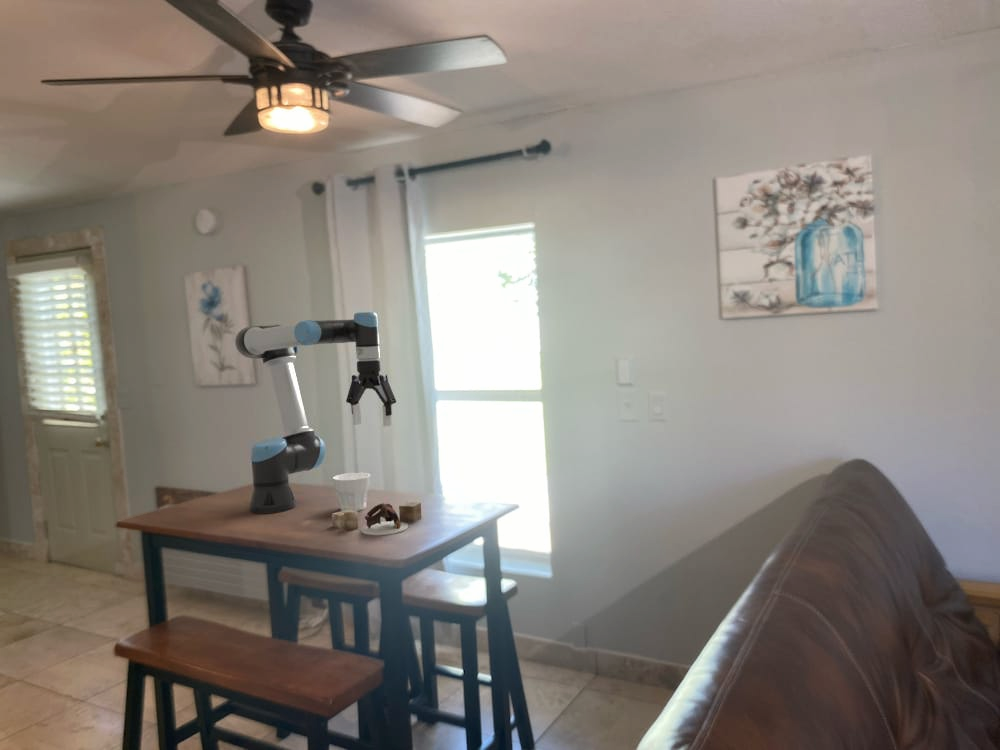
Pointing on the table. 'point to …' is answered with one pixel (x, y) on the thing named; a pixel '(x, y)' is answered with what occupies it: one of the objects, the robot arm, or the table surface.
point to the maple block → (338, 519)
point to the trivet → (384, 528)
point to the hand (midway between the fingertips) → (372, 425)
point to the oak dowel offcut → (351, 520)
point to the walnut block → (410, 512)
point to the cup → (352, 490)
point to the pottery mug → (382, 515)
